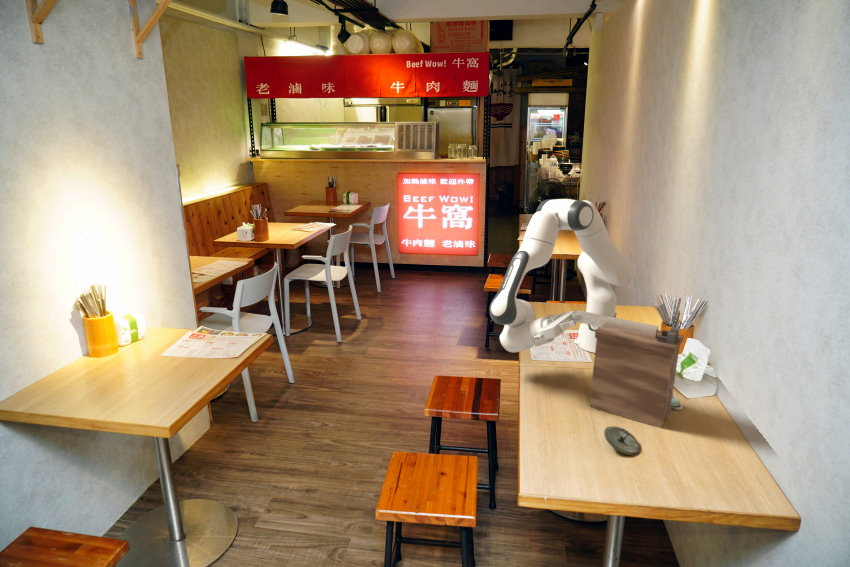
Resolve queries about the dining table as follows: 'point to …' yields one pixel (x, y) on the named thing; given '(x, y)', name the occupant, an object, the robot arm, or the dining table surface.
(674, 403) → the pacifier
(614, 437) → the lid
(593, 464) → the dining table surface
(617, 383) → the walnut stand
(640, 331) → the aluminium bar
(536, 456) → the dining table surface
